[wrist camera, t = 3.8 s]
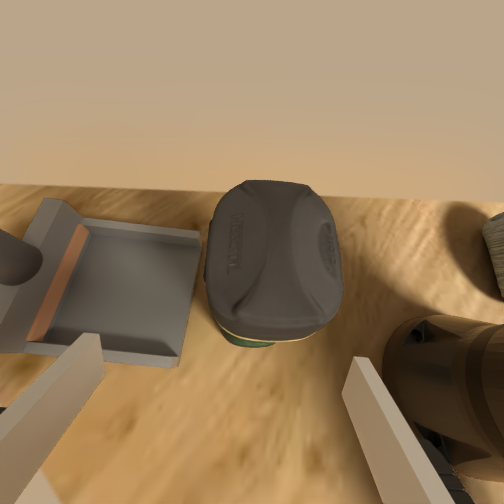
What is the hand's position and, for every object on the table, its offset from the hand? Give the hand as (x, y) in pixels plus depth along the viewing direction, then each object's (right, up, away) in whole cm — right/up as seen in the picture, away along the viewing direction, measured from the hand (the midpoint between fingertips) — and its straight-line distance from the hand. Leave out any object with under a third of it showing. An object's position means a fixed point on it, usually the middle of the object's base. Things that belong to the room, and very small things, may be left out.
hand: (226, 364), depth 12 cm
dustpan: (-14, +1, +16) cm, 21 cm away
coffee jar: (+1, -1, +17) cm, 17 cm away
